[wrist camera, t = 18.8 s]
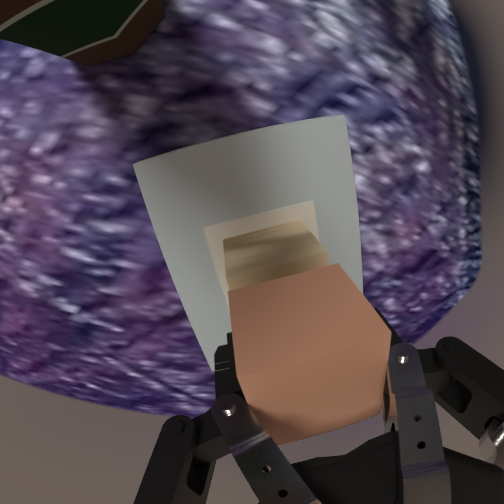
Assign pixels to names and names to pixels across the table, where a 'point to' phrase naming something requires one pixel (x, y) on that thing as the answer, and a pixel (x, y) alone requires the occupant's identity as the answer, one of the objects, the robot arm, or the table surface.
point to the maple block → (272, 254)
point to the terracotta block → (308, 353)
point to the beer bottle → (81, 26)
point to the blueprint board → (249, 207)
